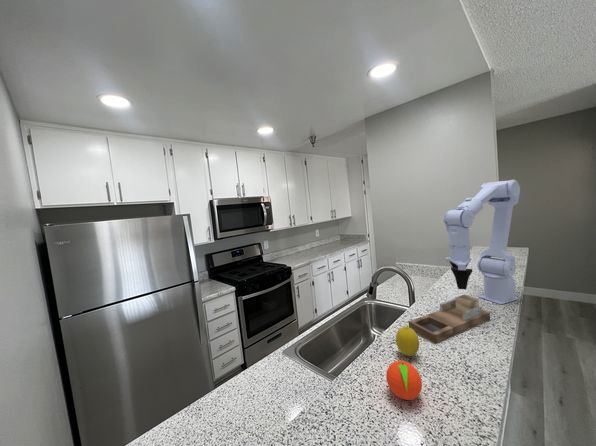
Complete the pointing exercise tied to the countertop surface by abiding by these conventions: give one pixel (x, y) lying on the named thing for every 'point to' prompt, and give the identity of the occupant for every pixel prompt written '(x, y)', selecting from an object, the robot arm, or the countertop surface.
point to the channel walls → (465, 315)
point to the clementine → (404, 380)
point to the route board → (445, 324)
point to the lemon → (407, 341)
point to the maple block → (466, 303)
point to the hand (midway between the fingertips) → (460, 284)
